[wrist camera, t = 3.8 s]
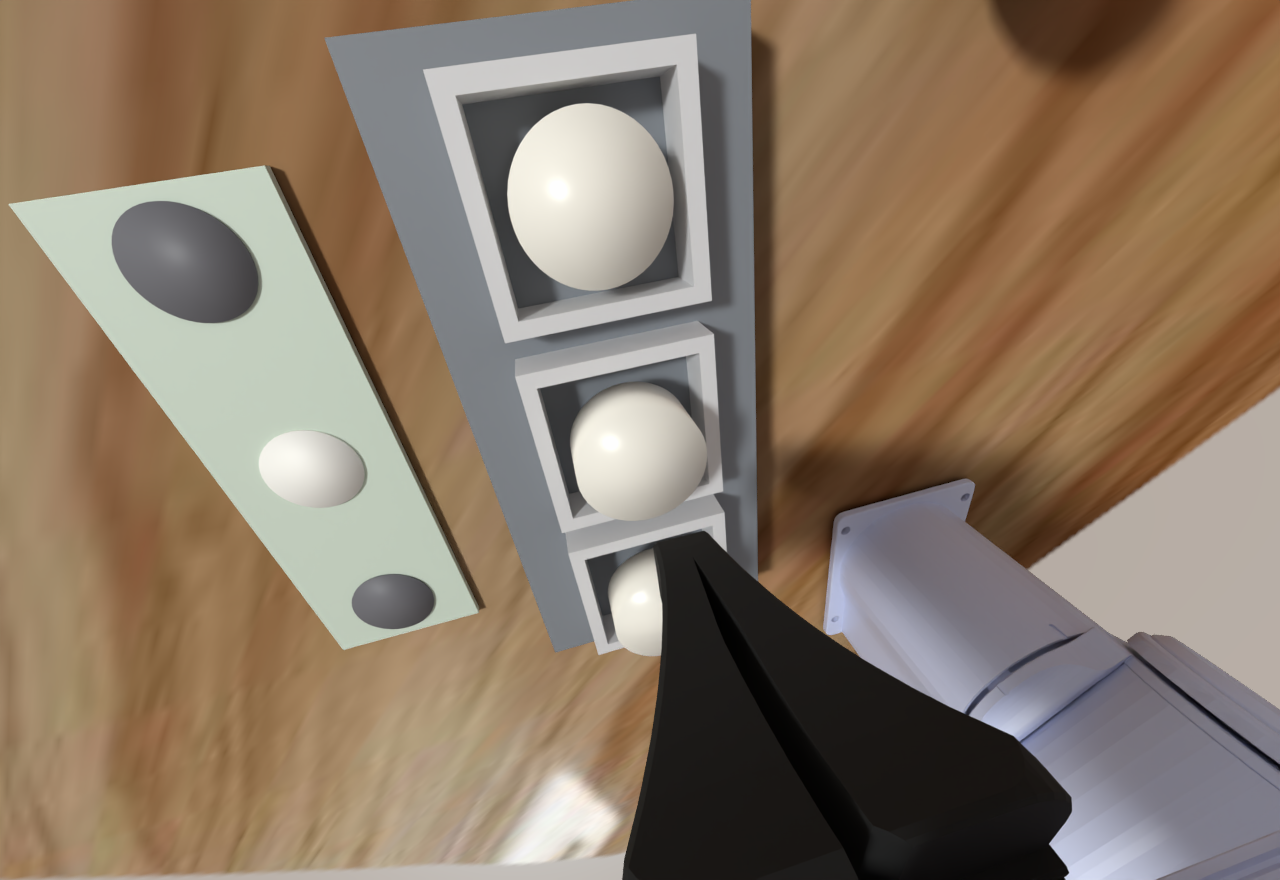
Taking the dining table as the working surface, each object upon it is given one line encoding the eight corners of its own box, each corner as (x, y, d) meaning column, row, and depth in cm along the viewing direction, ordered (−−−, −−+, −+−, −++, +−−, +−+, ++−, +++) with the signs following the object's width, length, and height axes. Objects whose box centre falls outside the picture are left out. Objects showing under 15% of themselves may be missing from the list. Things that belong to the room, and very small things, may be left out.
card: (479, 607, 22) (478, 614, 22) (345, 644, 21) (342, 651, 21) (269, 165, 13) (263, 165, 12) (19, 203, 12) (4, 204, 12)
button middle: (693, 473, 17) (711, 502, 15) (583, 500, 16) (590, 534, 15) (683, 369, 15) (702, 391, 13) (557, 397, 14) (561, 424, 13)
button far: (706, 603, 20) (721, 638, 19) (616, 629, 20) (624, 667, 18) (699, 535, 18) (716, 568, 17) (599, 562, 18) (607, 598, 16)
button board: (741, 564, 25) (772, 618, 22) (552, 617, 23) (557, 682, 20) (720, 10, 13) (779, -37, 10) (351, 57, 12) (297, 18, 9)
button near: (663, 264, 14) (680, 275, 13) (530, 289, 14) (532, 304, 12) (645, 101, 12) (664, 91, 10) (489, 125, 12) (484, 117, 10)
